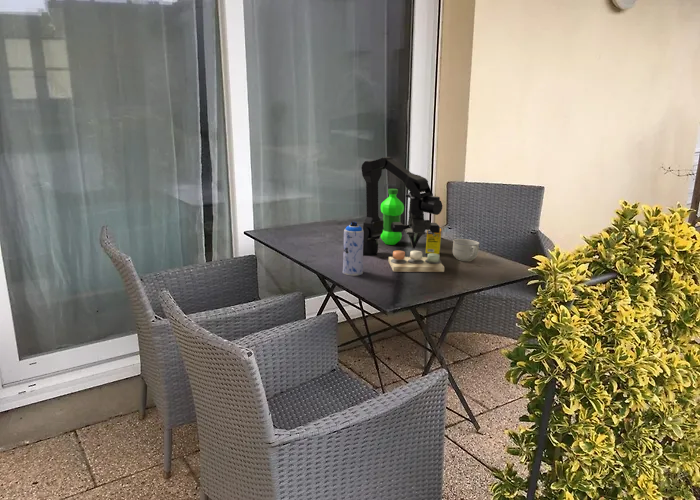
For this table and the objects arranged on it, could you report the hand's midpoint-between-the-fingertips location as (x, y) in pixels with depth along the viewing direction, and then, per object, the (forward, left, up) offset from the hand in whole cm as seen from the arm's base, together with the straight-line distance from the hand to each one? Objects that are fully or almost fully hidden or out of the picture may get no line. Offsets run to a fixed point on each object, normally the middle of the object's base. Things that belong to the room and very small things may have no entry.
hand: (413, 248), depth 239 cm
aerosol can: (-25, -8, -8) cm, 27 cm away
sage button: (+8, 0, -5) cm, 10 cm away
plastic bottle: (-4, +36, -8) cm, 37 cm away
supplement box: (+12, +19, -8) cm, 23 cm away
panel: (+1, 0, -8) cm, 8 cm away
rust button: (-6, 0, -4) cm, 7 cm away
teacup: (+24, +9, -8) cm, 27 cm away
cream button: (+1, 0, -4) cm, 4 cm away
